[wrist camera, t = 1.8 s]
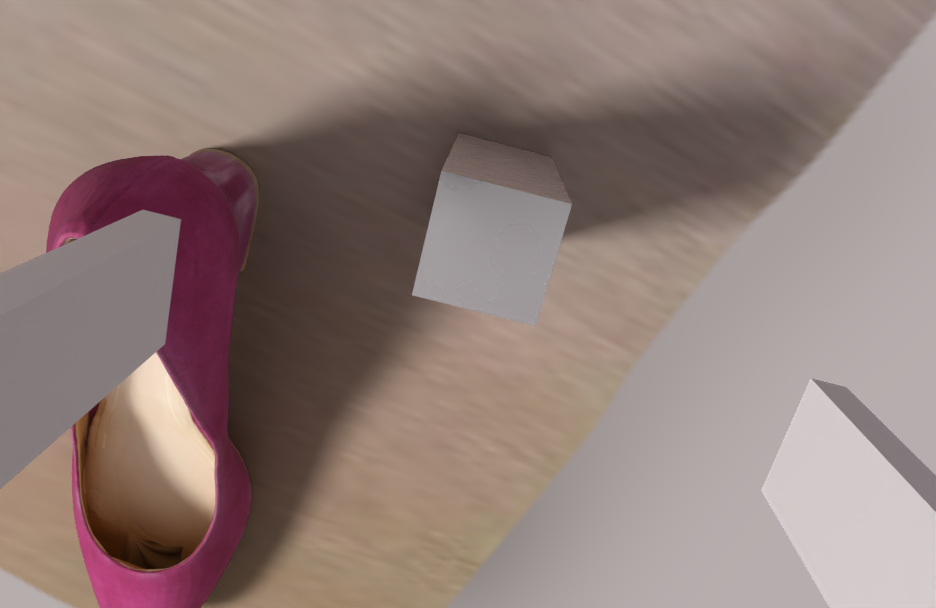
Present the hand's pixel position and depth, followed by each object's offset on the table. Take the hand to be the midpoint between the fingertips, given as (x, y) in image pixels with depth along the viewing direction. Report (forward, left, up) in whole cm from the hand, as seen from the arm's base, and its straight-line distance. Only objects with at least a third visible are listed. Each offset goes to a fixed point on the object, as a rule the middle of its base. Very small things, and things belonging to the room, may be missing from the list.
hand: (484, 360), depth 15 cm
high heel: (+13, -12, -18) cm, 25 cm away
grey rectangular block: (0, 0, -18) cm, 18 cm away
